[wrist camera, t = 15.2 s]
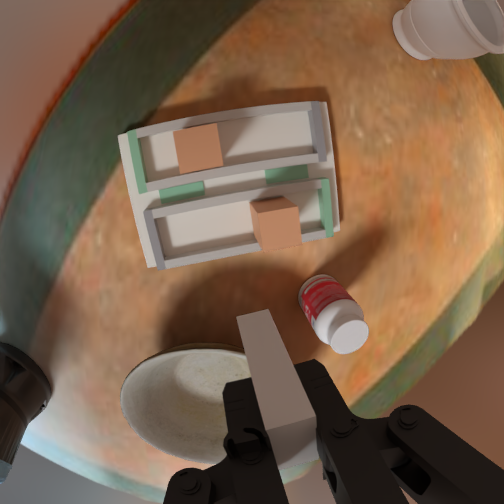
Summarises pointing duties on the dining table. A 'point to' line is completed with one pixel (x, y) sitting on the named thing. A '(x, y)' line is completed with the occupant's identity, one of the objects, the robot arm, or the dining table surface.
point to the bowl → (183, 399)
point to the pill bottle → (333, 314)
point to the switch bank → (230, 181)
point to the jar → (450, 28)
